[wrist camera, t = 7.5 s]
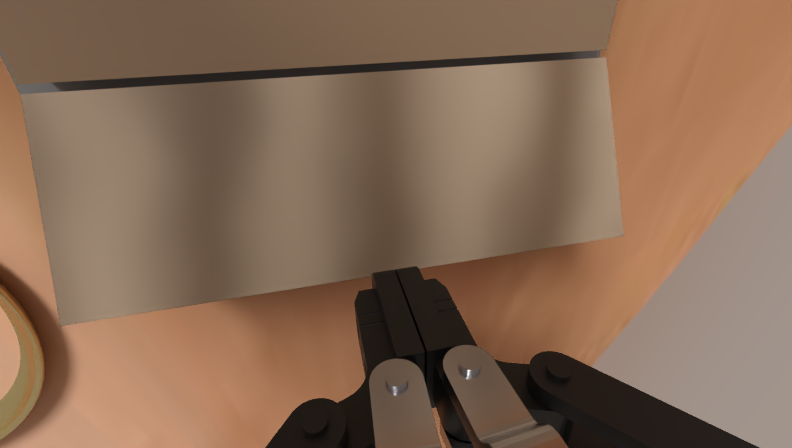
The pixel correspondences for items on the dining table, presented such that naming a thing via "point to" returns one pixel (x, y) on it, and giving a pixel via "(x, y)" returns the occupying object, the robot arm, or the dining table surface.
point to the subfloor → (282, 38)
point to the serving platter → (21, 367)
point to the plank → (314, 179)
